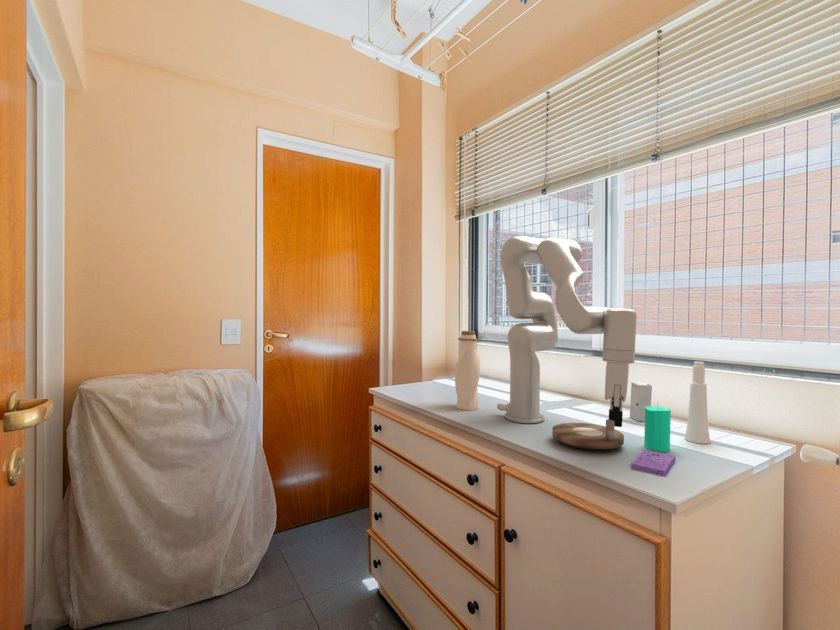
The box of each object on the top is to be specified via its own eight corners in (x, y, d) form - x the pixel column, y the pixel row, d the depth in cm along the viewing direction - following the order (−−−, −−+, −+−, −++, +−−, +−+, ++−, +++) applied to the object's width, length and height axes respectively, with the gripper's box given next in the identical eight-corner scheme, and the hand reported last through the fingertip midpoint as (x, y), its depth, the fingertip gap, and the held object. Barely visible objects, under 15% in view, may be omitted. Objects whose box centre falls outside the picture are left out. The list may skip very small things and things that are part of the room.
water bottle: (455, 403, 160) (456, 330, 159) (479, 404, 158) (480, 330, 158) (454, 410, 149) (454, 331, 149) (479, 411, 148) (480, 332, 148)
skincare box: (629, 417, 142) (629, 381, 142) (642, 417, 142) (643, 381, 142) (637, 421, 136) (638, 384, 136) (651, 422, 136) (652, 384, 135)
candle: (673, 452, 107) (674, 405, 107) (648, 450, 108) (649, 404, 108) (665, 445, 113) (665, 400, 113) (640, 443, 114) (641, 399, 114)
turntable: (538, 432, 118) (538, 409, 118) (586, 425, 126) (586, 403, 126) (587, 452, 102) (588, 425, 102) (639, 443, 109) (639, 418, 109)
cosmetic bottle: (681, 439, 117) (682, 361, 117) (688, 435, 121) (690, 360, 121) (706, 445, 113) (708, 364, 112) (713, 441, 117) (715, 362, 116)
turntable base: (561, 446, 111) (561, 441, 111) (565, 434, 122) (565, 429, 122) (611, 453, 106) (611, 447, 106) (611, 439, 117) (611, 434, 117)
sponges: (675, 462, 101) (675, 455, 101) (665, 478, 92) (665, 470, 92) (643, 456, 106) (643, 448, 106) (630, 470, 96) (630, 462, 96)
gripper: (602, 351, 117) (600, 416, 118) (602, 358, 104) (598, 431, 104) (632, 353, 114) (629, 420, 115) (636, 361, 100) (632, 436, 101)
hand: (615, 425), depth 110 cm, fingers closed
